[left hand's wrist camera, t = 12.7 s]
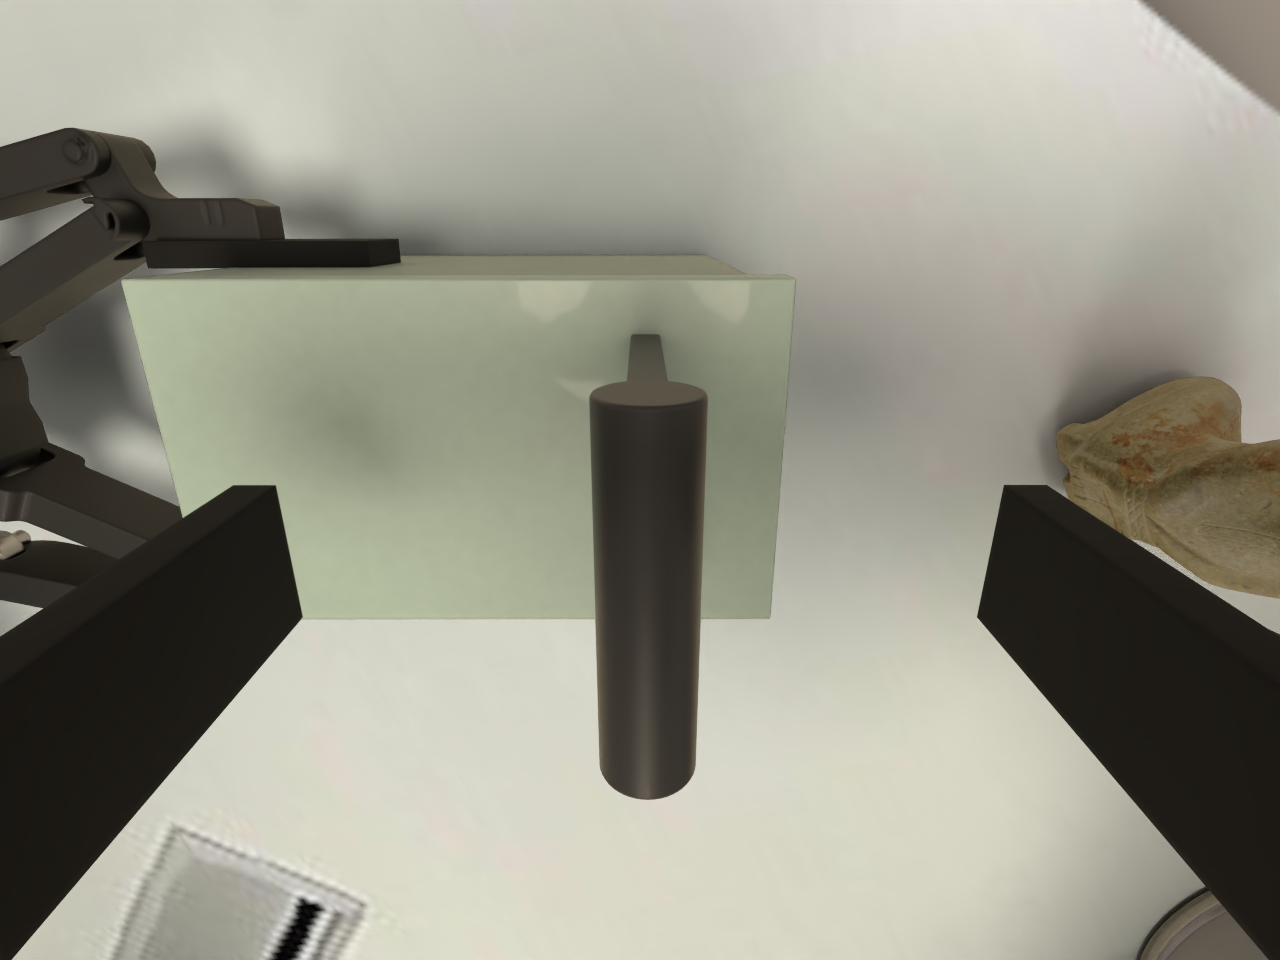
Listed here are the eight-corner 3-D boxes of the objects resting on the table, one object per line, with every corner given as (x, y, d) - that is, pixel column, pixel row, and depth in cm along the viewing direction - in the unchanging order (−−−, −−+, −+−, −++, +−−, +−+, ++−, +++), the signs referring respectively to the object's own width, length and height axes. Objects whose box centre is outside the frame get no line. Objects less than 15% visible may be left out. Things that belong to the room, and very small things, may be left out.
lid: (786, 274, 17) (921, 321, 9) (763, 597, 20) (846, 850, 12) (153, 275, 17) (-296, 323, 9) (231, 598, 20) (-43, 850, 12)
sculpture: (1209, 472, 30) (1702, 688, 16) (1045, 522, 31) (1377, 768, 17) (1200, 348, 28) (1751, 471, 14) (1025, 406, 29) (1382, 574, 15)
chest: (707, 254, 27) (749, 274, 17) (701, 469, 30) (732, 597, 20) (340, 255, 27) (154, 275, 17) (372, 470, 30) (232, 597, 20)
